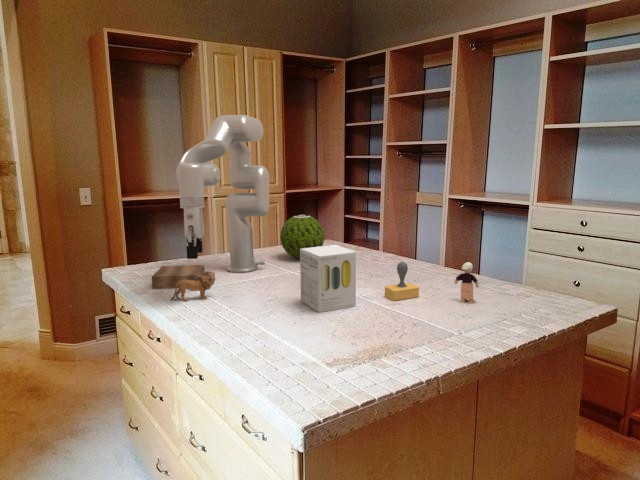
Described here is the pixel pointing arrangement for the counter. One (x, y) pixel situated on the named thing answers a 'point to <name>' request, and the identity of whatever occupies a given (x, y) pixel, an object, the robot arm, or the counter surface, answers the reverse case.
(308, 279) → the supplement box
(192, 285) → the lion figurine
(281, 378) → the counter surface
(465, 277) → the grandmother figurine
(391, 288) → the rubber stamp
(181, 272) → the walnut block
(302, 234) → the decorative ball
